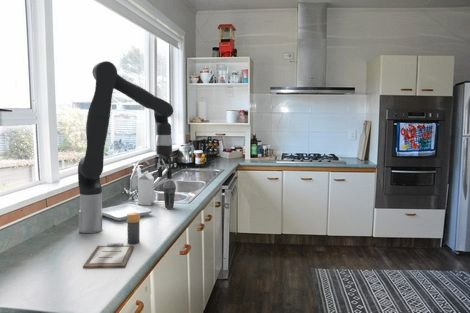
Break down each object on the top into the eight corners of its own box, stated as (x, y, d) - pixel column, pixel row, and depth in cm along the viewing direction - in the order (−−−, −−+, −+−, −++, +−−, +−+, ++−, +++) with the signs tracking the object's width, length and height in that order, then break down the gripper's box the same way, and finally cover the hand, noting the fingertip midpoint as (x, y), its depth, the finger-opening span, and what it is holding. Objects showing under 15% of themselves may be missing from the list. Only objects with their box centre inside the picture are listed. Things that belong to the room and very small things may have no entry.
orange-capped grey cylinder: (126, 244, 156) (126, 215, 155) (128, 240, 161) (128, 212, 160) (138, 244, 157) (138, 215, 155) (140, 240, 162) (140, 212, 160)
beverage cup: (159, 208, 214) (160, 173, 212) (168, 205, 220) (168, 171, 218) (170, 210, 211) (170, 174, 208) (178, 207, 217) (178, 172, 215)
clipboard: (83, 268, 132) (82, 263, 132) (97, 247, 152) (97, 243, 152) (124, 267, 133) (124, 262, 133) (133, 247, 153) (133, 242, 153)
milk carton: (153, 202, 227) (154, 170, 225) (150, 205, 220) (150, 172, 218) (142, 202, 228) (142, 170, 225) (138, 204, 221) (138, 172, 218)
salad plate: (129, 208, 213) (129, 202, 213) (153, 216, 200) (153, 209, 199) (94, 216, 197) (94, 209, 196) (118, 224, 184) (118, 217, 183)
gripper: (149, 144, 188) (150, 177, 188) (164, 144, 177) (165, 179, 178) (163, 144, 193) (163, 176, 193) (178, 144, 182) (179, 178, 183)
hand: (164, 178), depth 186 cm, fingers open, 8 cm apart
